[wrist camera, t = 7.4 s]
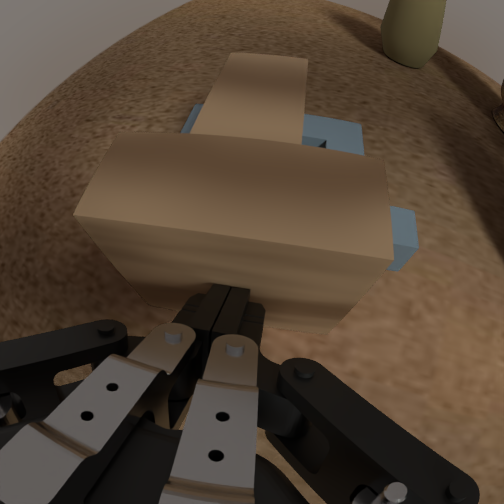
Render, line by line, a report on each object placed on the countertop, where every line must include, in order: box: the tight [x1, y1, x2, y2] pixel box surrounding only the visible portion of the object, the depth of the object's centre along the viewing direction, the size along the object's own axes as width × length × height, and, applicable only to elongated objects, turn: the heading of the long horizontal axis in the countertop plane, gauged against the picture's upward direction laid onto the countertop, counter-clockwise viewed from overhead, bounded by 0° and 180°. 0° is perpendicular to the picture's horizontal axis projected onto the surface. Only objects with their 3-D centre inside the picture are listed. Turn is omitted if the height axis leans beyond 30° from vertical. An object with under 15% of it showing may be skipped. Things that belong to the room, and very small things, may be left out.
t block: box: [73, 52, 394, 335], centre depth 15 cm, size 11×10×9 cm
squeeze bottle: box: [380, 0, 446, 68], centre depth 24 cm, size 8×8×18 cm
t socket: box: [181, 104, 419, 271], centre depth 19 cm, size 10×18×3 cm, turn 80°
